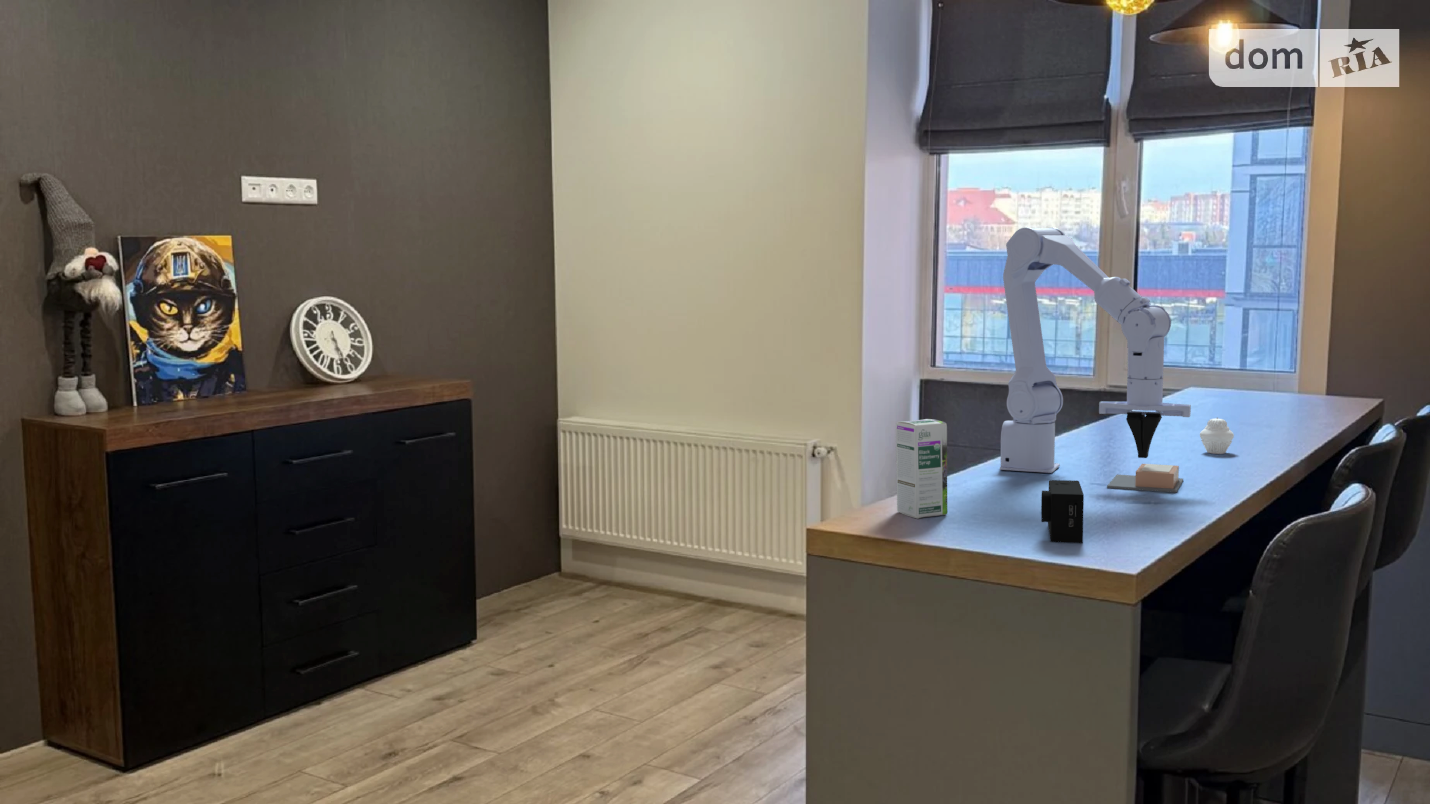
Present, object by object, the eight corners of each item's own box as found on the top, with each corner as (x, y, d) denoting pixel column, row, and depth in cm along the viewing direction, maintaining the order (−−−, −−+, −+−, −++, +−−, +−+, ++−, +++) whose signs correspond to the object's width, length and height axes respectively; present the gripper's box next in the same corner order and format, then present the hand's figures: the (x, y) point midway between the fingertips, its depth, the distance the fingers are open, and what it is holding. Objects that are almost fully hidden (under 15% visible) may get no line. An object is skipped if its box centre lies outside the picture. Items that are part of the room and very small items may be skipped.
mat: (1106, 488, 201) (1107, 485, 201) (1116, 476, 210) (1116, 474, 210) (1176, 492, 196) (1176, 490, 196) (1183, 480, 205) (1183, 478, 205)
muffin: (1238, 455, 230) (1239, 419, 229) (1206, 455, 230) (1207, 419, 229) (1225, 449, 236) (1226, 414, 235) (1194, 450, 236) (1195, 415, 235)
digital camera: (1039, 525, 175) (1040, 478, 174) (1078, 526, 174) (1079, 479, 173) (1041, 542, 165) (1042, 492, 164) (1082, 543, 164) (1083, 493, 163)
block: (1135, 470, 199) (1173, 472, 197) (1142, 462, 206) (1178, 464, 204) (1135, 486, 200) (1173, 488, 197) (1141, 477, 207) (1178, 480, 204)
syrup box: (916, 519, 180) (916, 424, 178) (895, 511, 185) (895, 420, 184) (948, 515, 182) (948, 421, 181) (926, 508, 188) (926, 417, 186)
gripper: (1096, 379, 201) (1095, 458, 202) (1188, 381, 194) (1186, 463, 196) (1103, 374, 207) (1101, 451, 209) (1192, 377, 200) (1190, 456, 202)
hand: (1143, 457), depth 203 cm, fingers closed
